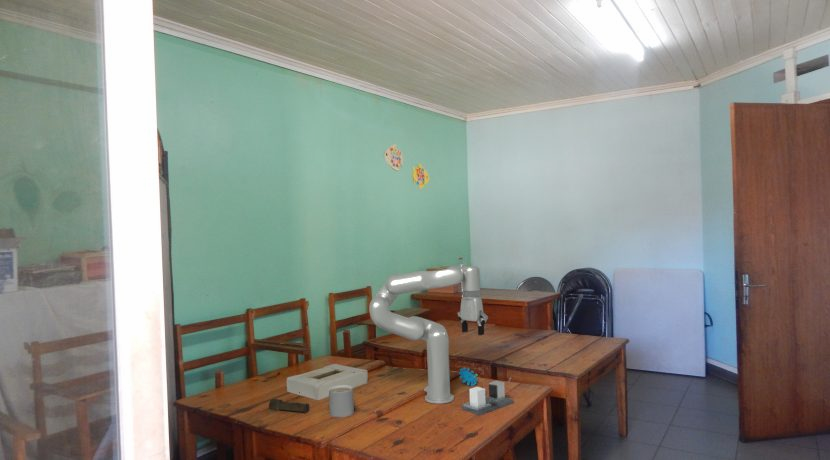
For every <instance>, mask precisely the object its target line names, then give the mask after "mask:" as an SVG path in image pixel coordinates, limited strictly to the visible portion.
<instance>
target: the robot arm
mask: <svg viewBox="0 0 830 460" xmlns="http://www.w3.org/2000/svg"><path fill="white" fill-rule="evenodd" d="M480 276H481V275H480V267H479V266H476V265H467V266H458V265H451V266H448V267H447V268H446V269H445V268H444V269H438V270H430V271H429V270H417V271H412V272H407V273H401V274H398V273H394V274H391V275H390V276H388V278H387V279H386V280H385V282H384V284H383V285H382V286H381V287H380V289H379V290H378V291H377V293H376V294H375V295H374V296H373V297H372V299H370V303H369V305H368V307H369V310H368V312H369V315H370V316H369V317H370V319H371V320H372V322H373V323H374V325H375V326H376V327H377V328H379V329H380V330H382V331H385V332H388V333H391V334H394V335H396V336H399V337H401V338H404V339H407V340H410V341H413V342H414V341H419V340H421V341H424V342H426V362H427V364H426V365H427V385H426V386H425V387H424V389H423V391H424V392H426V395H425V396H424V400H425V401H426V402H428V403H430V404H439V405H440V404H441V405H442V404H447V403H451V402H453V401H454V399H455V396H454V394H452V393H451V383H450V382H451V381H450V378H451V377H450V376H451V375H450V353H449V352H450V351H449V350H450V338H449V335H448V331H447V329H446V327H445V326H444V325H442V324H441V323H438V322H435V321H433V320H431V319H426V318H423V317H420V316H416V315H415V316H414V315H413V316H409V317H406V316H403V315H402V314H397V313H394V312H392V311H391V310H390V307H391V306H392V304H393V303H394V302H395V300H396V299H397V298H398V297H399V296H400V295H402V294H409V293H415V292H420V291H428V290H432V289H440V288H441V289H442V288H445V287H452V286H458V284H459V285H460V284H461V283H462V292H461V293H462V297H461V301H460V310H459V311H457V316H458V320H459V321H460V324H461V333H468V331H469V326H468V325H469V324H468V321H469V322H476V323H477V325H478V326H477V336H482V335H485V326H486V323H487V322H488V319H489V316H488V315H487V314H486V313H485V312H484V306H483V305H484V304H483V301H482V297H481V282H480V281H481V277H480Z"/></svg>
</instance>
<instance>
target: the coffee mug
mask: <svg viewBox="0 0 830 460" xmlns="http://www.w3.org/2000/svg"><path fill="white" fill-rule="evenodd" d="M354 399H355V398H354V388H353V387H352V386H348V385H339V386H334V387H331V388H330V389H329V397H328V403H329V404H328V405H329V409H328V410H329V415H330V417H333V418H345V417H349V416H352V415H353V414H355V405H354V404H355V403H354V402H355V400H354Z"/></svg>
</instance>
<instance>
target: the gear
mask: <svg viewBox="0 0 830 460" xmlns="http://www.w3.org/2000/svg"><path fill="white" fill-rule="evenodd" d="M474 373H475V372H474V370H471V371H470V368H469V367H467V368H466V367H464V366H463V367H462V368H460V369H459V372H458V375H460V376H459V379H460V380H461V379H462V382H461V383H462V384H465V383H466V382H467V383H466V385H467V386H471V387H474V386H475V385H477V382H478V378H477V377H478V374H477V373H475V374H474Z"/></svg>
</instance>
